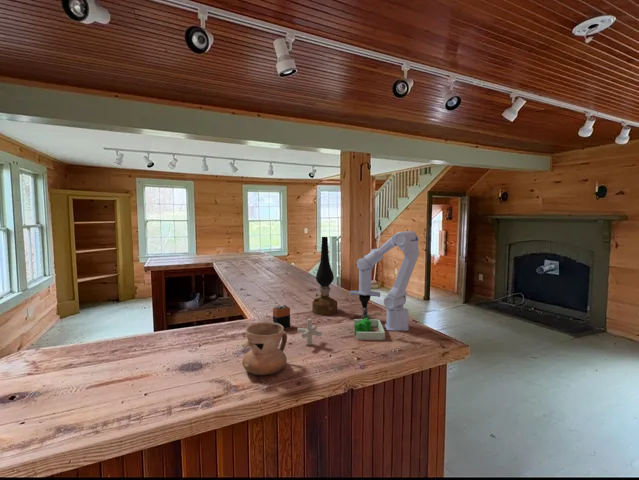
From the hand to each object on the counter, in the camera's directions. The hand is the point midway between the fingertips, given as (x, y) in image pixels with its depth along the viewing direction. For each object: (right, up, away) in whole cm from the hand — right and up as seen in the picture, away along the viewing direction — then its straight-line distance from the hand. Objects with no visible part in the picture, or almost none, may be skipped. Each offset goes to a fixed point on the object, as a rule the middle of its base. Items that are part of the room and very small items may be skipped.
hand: (364, 310), depth 155 cm
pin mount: (0, -5, -6) cm, 7 cm away
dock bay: (-1, -6, -16) cm, 18 cm away
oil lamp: (-19, -4, +13) cm, 24 cm away
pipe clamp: (-3, -6, -16) cm, 17 cm away
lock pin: (0, -4, -5) cm, 6 cm away
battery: (-39, -6, -10) cm, 41 cm away
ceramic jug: (-40, -9, -48) cm, 63 cm away
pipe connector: (-26, -7, -28) cm, 39 cm away
